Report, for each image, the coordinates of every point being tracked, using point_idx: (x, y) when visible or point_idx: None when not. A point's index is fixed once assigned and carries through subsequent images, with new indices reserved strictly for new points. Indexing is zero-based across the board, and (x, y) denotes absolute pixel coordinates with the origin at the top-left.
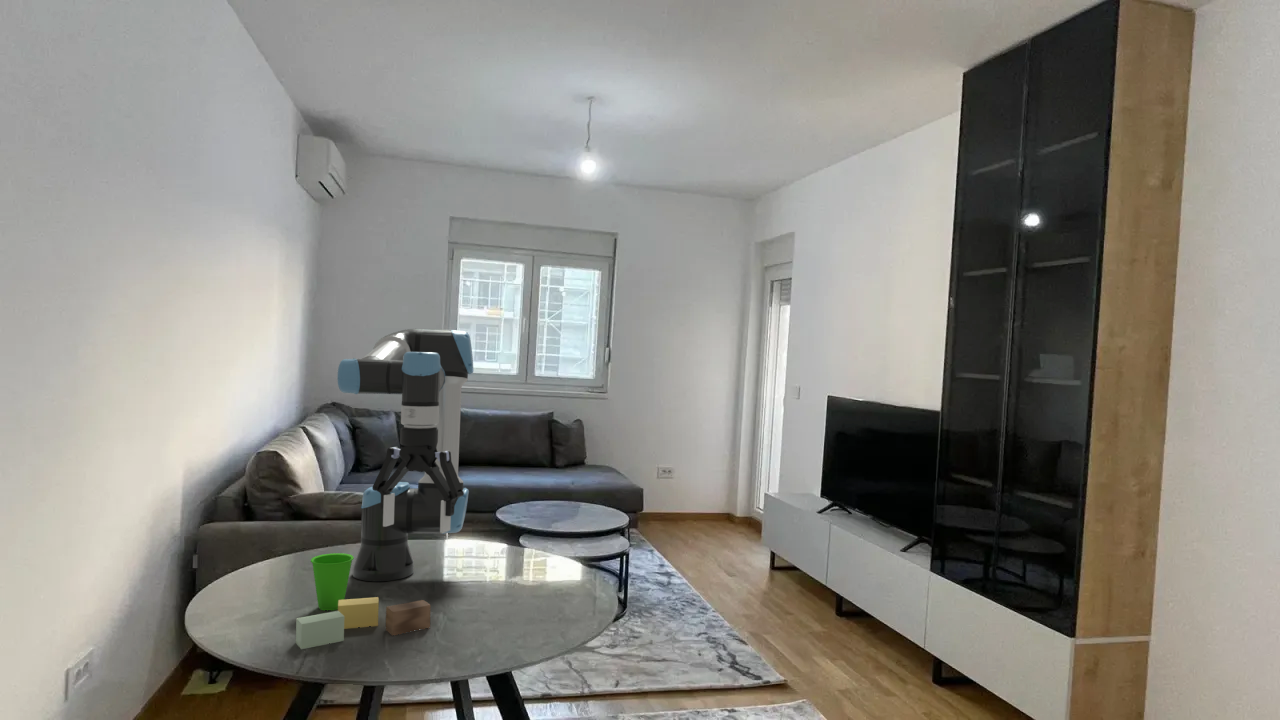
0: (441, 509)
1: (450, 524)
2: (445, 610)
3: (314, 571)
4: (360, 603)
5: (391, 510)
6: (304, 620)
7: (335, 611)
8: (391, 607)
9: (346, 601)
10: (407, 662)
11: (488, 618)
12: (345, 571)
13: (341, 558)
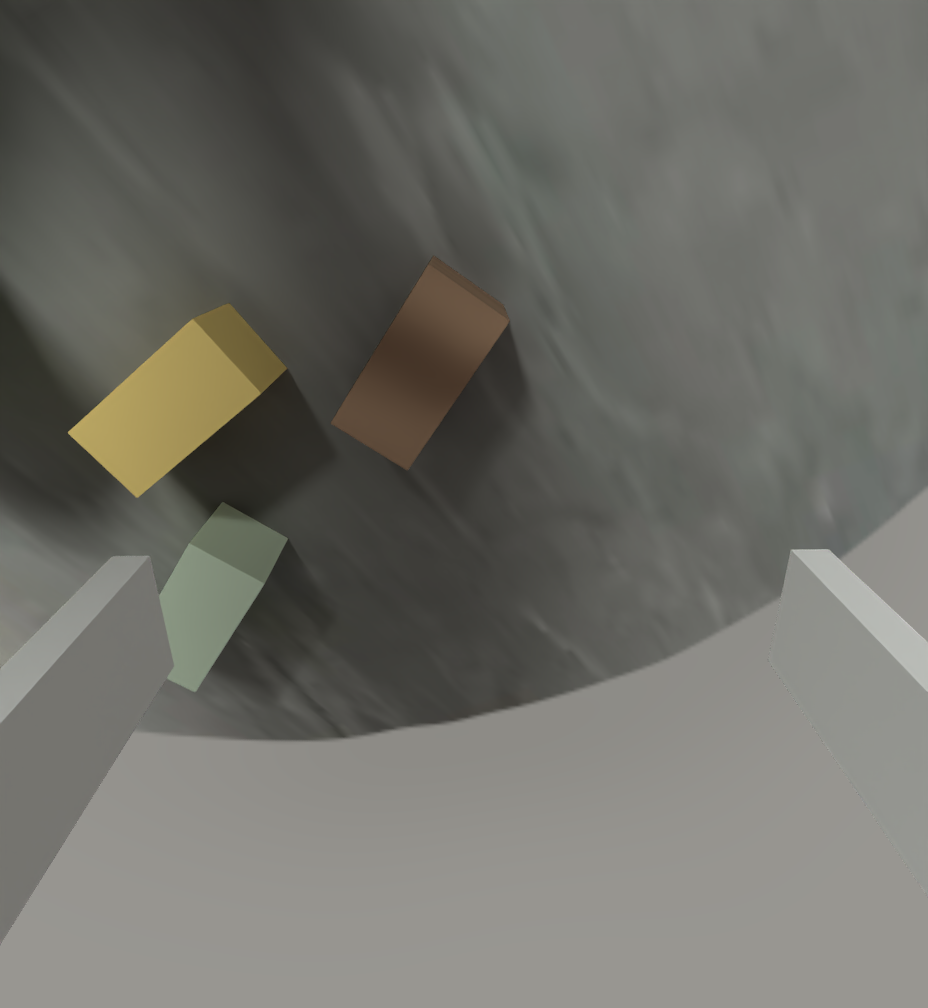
0: (906, 848)
1: (861, 582)
2: (436, 38)
3: None
4: (193, 432)
5: (81, 693)
6: None
7: (187, 554)
8: (360, 424)
9: (116, 436)
10: (603, 603)
11: (706, 62)
12: None
13: None
